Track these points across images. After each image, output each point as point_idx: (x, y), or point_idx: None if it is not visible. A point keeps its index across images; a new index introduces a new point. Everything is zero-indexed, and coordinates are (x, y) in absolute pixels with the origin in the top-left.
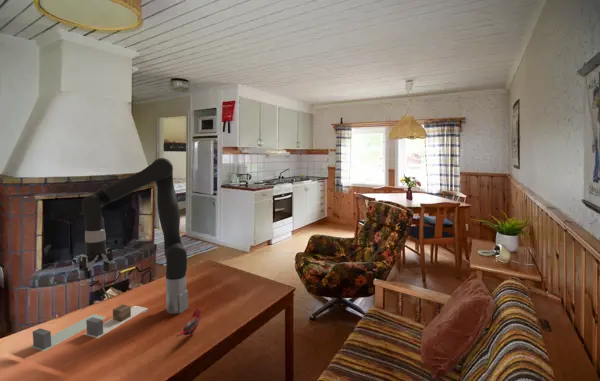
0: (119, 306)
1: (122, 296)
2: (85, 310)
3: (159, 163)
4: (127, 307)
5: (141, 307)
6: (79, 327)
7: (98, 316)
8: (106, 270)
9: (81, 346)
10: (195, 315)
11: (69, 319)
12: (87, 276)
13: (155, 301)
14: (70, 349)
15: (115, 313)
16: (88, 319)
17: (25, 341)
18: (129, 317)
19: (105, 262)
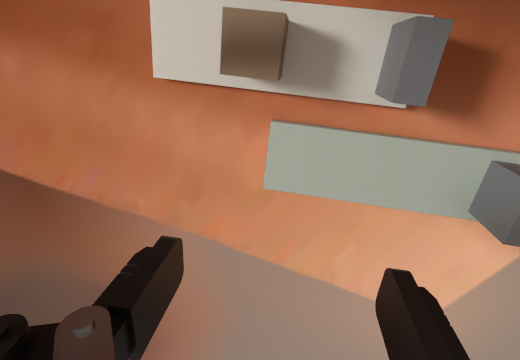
0: (243, 69)
1: (115, 194)
2: (239, 239)
3: None
4: (239, 12)
5: (155, 29)
6: (360, 163)
7: (274, 157)
8: (176, 250)
9: (470, 55)
10: None
11: (301, 243)
12: (434, 303)
13: (78, 23)
14: (492, 82)
15: (281, 60)
16: (417, 101)
17: (440, 264)
18: None
19: (117, 351)
